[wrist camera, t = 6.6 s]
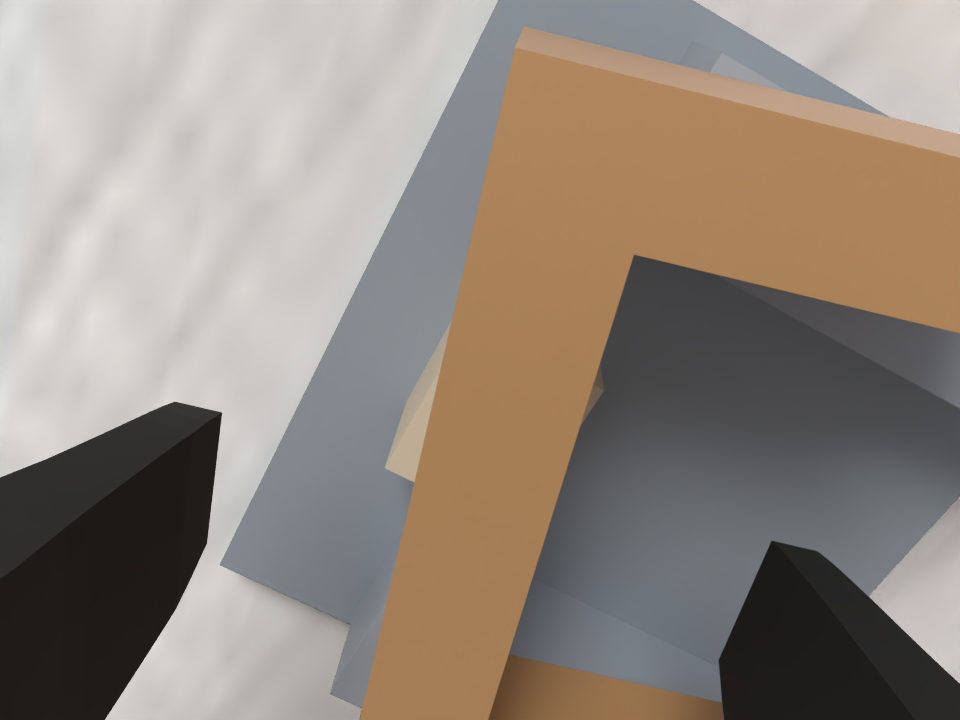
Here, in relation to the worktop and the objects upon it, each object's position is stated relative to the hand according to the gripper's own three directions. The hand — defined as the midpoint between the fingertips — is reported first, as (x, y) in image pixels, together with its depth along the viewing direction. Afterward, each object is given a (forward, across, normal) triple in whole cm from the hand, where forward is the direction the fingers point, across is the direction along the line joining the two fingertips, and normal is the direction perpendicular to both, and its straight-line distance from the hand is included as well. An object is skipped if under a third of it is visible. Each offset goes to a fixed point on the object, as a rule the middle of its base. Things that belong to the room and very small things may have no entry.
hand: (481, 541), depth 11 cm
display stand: (+6, -3, +1) cm, 7 cm away
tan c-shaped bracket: (+3, -2, 0) cm, 4 cm away
